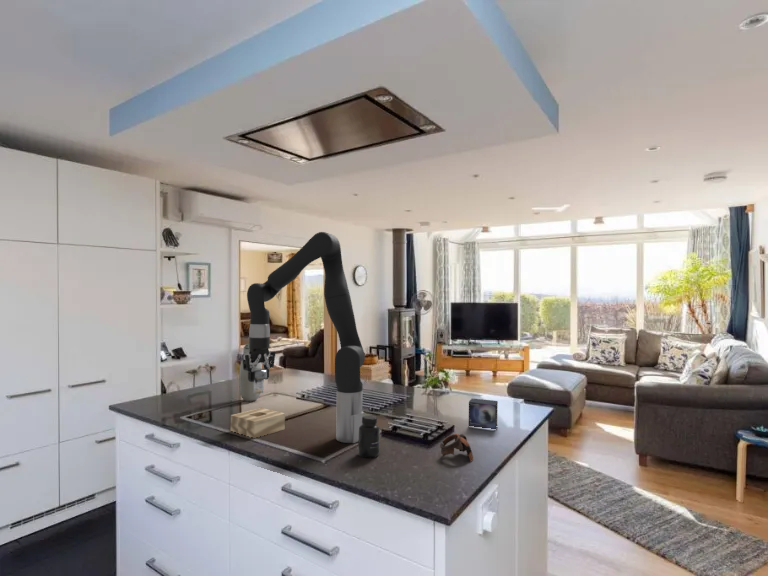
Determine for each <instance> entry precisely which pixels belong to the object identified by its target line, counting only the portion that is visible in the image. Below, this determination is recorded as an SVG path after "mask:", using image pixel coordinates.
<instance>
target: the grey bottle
mask: <svg viewBox="0 0 768 576" xmlns="http://www.w3.org/2000/svg"><path fill="white" fill-rule="evenodd" d="M249 352H250V348H249V342H248V343H246V344H245V345H244V346H243V353H242V355H243V354H245V355H246V354H249ZM250 359H251V358H250ZM250 359H249V362H250ZM253 363H254V362H253ZM255 369H263V365H262V364H261V362H260V363H258V364H257V366H256V367H255ZM261 394H262V393H259V394H255V393H254V382H249V380H248V371H246V370H244V369H243V360H242V359H241V361H240V366H239V395H240V397H241V398H242V400H244V401H246V402H254V401H257V400H258V399H259V397H260V396H261Z"/></svg>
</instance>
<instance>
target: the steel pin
mask: <svg viewBox="0 0 768 576" xmlns="http://www.w3.org/2000/svg"><path fill="white" fill-rule="evenodd" d="M266 378H267V369H264V368H262V369H255V370H254V393H255V394H259V393H261V394H263V393H264V392H265V391H264V386H265V385H264V384H265V380H267V379H266Z"/></svg>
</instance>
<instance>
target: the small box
mask: <svg viewBox="0 0 768 576" xmlns="http://www.w3.org/2000/svg"><path fill="white" fill-rule="evenodd" d="M498 401H499V400H493V399H491V400H490V399H483V398H482V399H481V398H473V397H472V398H471V399H470V400H469V401H468V427H469V426H474V427H482V428H491V429H496V426H498V403H499V402H498ZM496 430H497V429H496Z"/></svg>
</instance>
